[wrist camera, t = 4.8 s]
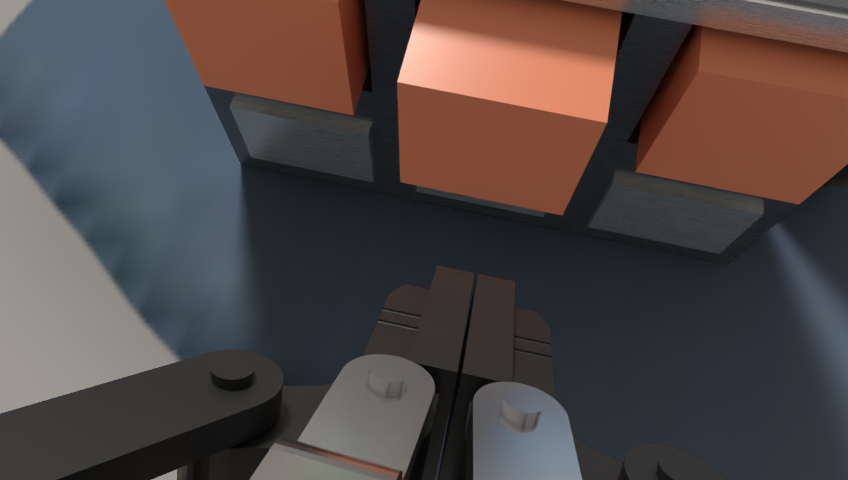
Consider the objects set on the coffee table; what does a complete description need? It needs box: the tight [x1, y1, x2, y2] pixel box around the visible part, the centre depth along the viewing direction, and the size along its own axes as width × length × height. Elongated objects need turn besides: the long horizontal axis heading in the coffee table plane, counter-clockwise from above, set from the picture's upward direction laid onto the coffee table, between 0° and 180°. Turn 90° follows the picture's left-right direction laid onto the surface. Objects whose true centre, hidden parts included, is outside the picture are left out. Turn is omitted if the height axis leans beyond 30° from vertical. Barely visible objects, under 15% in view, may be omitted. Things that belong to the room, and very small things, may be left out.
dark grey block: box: [205, 0, 848, 264], centre depth 23 cm, size 21×6×14 cm, turn 77°
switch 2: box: [397, 0, 622, 215], centre depth 19 cm, size 5×5×5 cm
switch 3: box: [635, 24, 848, 204], centre depth 19 cm, size 5×5×5 cm
